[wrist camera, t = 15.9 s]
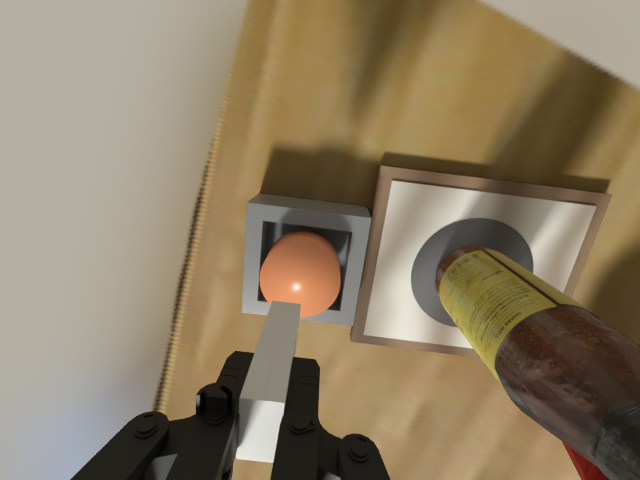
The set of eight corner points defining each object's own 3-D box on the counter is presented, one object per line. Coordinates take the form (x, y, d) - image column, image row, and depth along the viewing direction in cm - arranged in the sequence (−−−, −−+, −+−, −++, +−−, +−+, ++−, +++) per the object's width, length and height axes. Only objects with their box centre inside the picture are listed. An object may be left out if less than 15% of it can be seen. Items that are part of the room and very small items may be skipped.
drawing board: (602, 192, 27) (615, 195, 25) (537, 358, 31) (546, 367, 30) (379, 164, 27) (381, 166, 25) (350, 335, 31) (350, 343, 30)
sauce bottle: (428, 309, 29) (612, 645, 10) (435, 241, 27) (678, 497, 8) (505, 309, 29) (842, 654, 10) (517, 241, 27) (967, 505, 8)
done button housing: (366, 206, 28) (371, 218, 24) (350, 302, 30) (352, 326, 27) (259, 193, 28) (247, 202, 24) (253, 289, 30) (241, 312, 27)
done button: (344, 233, 25) (345, 248, 22) (334, 298, 27) (334, 322, 24) (271, 224, 25) (262, 238, 22) (266, 290, 27) (257, 312, 24)
